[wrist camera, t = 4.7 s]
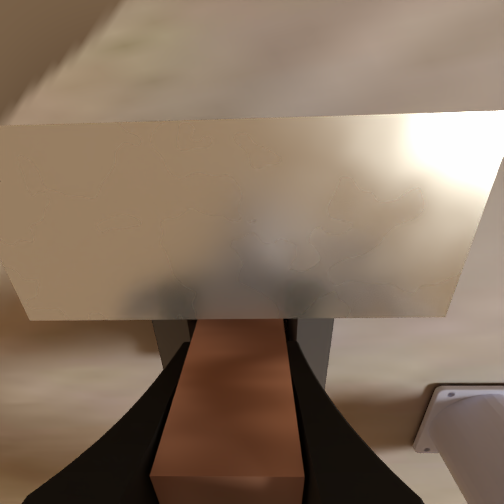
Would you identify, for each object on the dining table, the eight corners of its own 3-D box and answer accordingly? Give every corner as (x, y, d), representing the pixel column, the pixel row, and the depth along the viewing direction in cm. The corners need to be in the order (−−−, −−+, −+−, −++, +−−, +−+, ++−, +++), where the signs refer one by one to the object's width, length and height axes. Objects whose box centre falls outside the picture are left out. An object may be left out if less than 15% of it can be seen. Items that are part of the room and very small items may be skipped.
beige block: (385, 119, 12) (518, 110, 6) (365, 237, 15) (444, 317, 9) (94, 128, 13) (-64, 127, 6) (123, 241, 15) (29, 320, 9)
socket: (324, 228, 15) (342, 255, 12) (312, 350, 19) (323, 395, 16) (162, 231, 15) (137, 258, 12) (184, 350, 19) (169, 395, 16)
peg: (279, 295, 14) (304, 477, 7) (278, 351, 16) (296, 544, 8) (204, 296, 14) (149, 476, 7) (211, 352, 16) (173, 542, 9)
